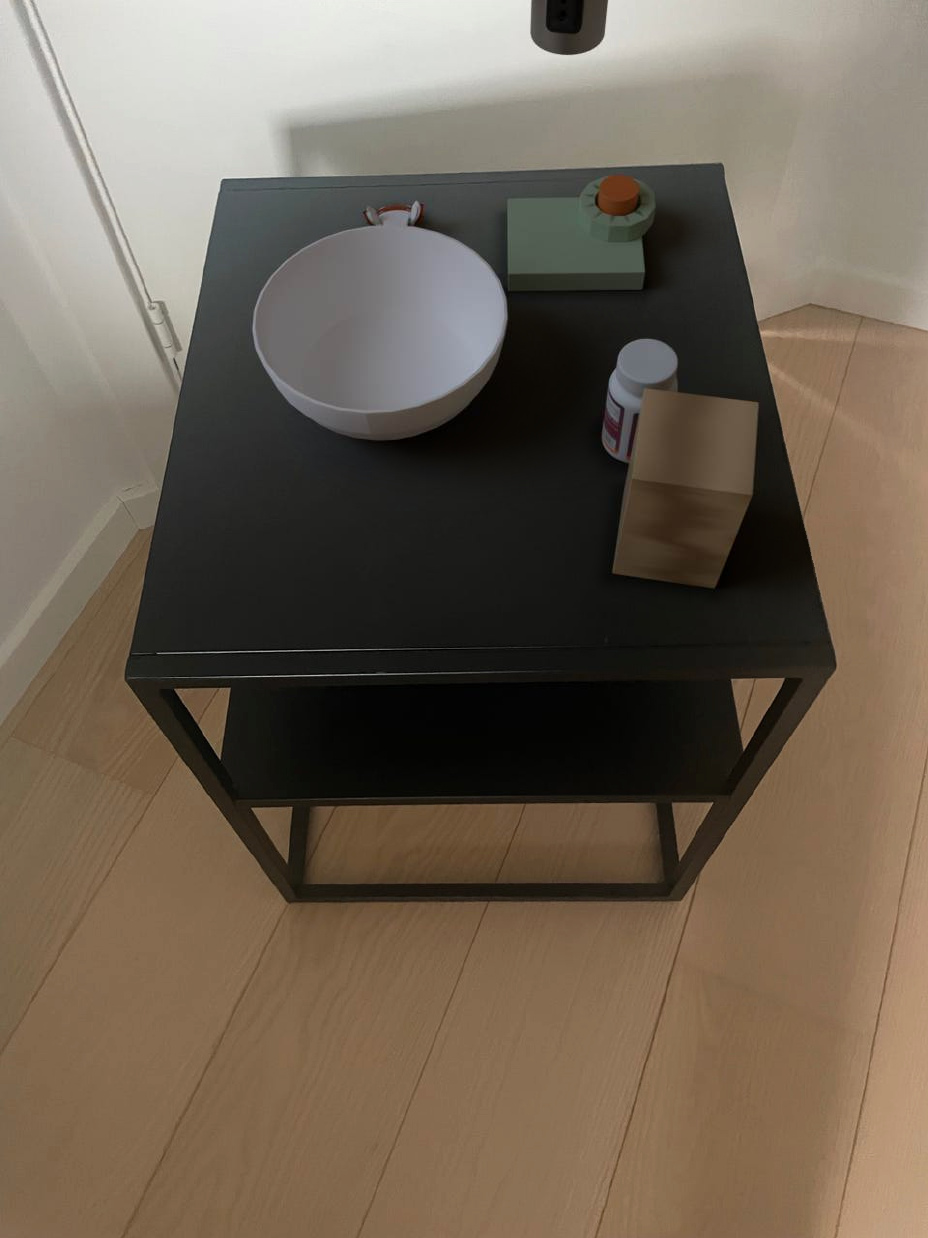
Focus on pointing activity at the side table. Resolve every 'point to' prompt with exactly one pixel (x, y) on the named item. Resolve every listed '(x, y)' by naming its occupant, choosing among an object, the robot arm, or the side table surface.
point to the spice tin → (569, 43)
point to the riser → (686, 487)
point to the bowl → (381, 330)
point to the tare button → (618, 195)
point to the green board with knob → (576, 243)
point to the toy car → (395, 215)
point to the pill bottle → (635, 391)
